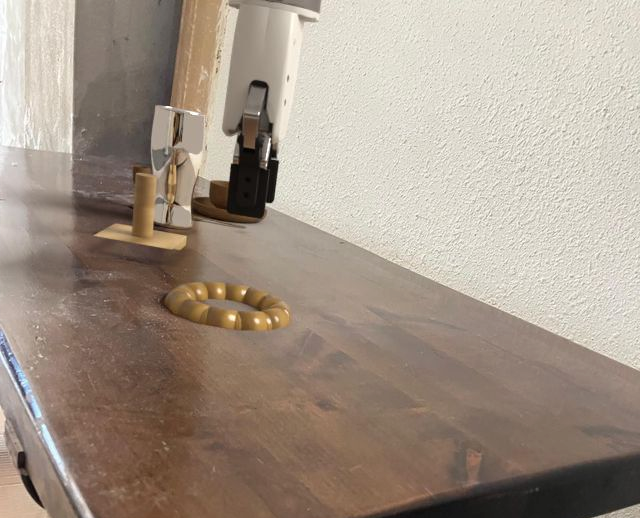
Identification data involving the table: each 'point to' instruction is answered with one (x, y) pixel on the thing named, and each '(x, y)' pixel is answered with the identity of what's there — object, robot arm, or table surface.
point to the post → (144, 220)
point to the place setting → (210, 202)
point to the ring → (187, 306)
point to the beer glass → (176, 163)
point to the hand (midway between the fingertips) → (251, 207)
